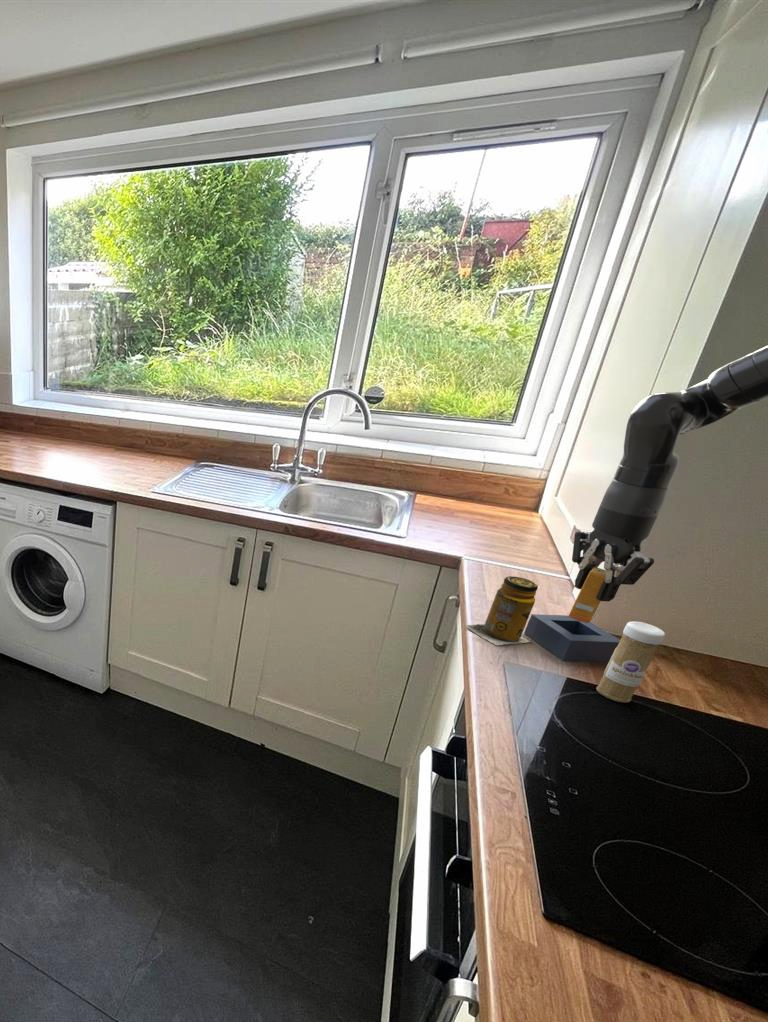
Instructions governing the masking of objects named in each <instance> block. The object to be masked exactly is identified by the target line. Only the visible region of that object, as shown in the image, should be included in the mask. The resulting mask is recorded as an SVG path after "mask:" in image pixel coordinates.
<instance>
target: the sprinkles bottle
mask: <svg viewBox="0 0 768 1022" xmlns="http://www.w3.org/2000/svg"><path fill="white" fill-rule="evenodd" d="M622 632H623V633H622V637H621V638H620V642H619V644H618V646H617V647H616V649H615V651H614V653H613V655H612V657H611V659H610V661H609V663H607V665H606V668H605V669H604V672H603V676H602V677H601V679H600V682H599V684H598V685H597V686H596V691H597V693H599V695H601V696H603V697H605V698H606V699H608V700H611V701H614V702H617V703H624V704H626V703H630V702H631V701H632V699H633V696H634V694H635V692H636V690H637V688H638V687H639V685H640V683H641V682H642V679H643V678H644V676H645V674H646V672H647V670H648V668H649V666H650V664H651V662H652V660H653V657H654V654H655V653H656V651H657V649H658V647H659V646H660V645H661V644H662V643H663V640H664V638H665V636H666V633H665V631H663V630H662V629H661V628H660V627H658V626H655V625H652V624H649V623H646V622H642V621H634V620H633V621H628V622H627V623H626V625H625V627H624V629H623V631H622Z"/></svg>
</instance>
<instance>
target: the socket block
mask: <svg viewBox="0 0 768 1022" xmlns="http://www.w3.org/2000/svg"><path fill="white" fill-rule="evenodd" d="M523 634H524V635H525V636H527V637H528V638H530V639H531V640H532V641H534V642H536V643H537V644H538V645H539V646H541V647H542V648H544V649H545V650H546V651H548V652H549V653H551V654H552V655H553V656H555V657H557V658H558V659H559V660H561V662H580V663H603V664H606V663H607V664H608V663H609V661H610V659H611V657H612V655H613V653H614V651H615V649H616V647H617V646H618V644H619V642H620V640H621V638H620V639H619V638H618V637H616V636H614V635H613V634H611V633H610V632H608V631H606V630H604V629H603V628H601V627H599V626H598V625H596V624H594V623H593V622H592V621H591V622H590V623H589V624H588V623H585V622H581V621H578V620H575V619H572V618H570V617H569V615H563V614H539V613H536V614H535V613H530V616H529V618H528V621H527V623H526V626H525V628H524V631H523Z"/></svg>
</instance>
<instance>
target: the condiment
mask: <svg viewBox="0 0 768 1022" xmlns="http://www.w3.org/2000/svg"><path fill="white" fill-rule="evenodd" d="M538 588H539V586H538V585H537V583H536V582H534V581H532V580H530V579H527V578H524V577H520V576H511V575H510V576H505V578H503V582H502V584H501V585H500V588H498V589H497V590H496V593H495V595H494V599H493V601H492V603H491V606H490V609H489V612H488V615H487V617H486V620H485V622H484V623H477V624H466V625H464V627H465V628H467V629H468V630H470V631H471V632H473V633H475V634H476V635H478V637H481V638H482V639H484V640H486V641H488V642H489V643H491V644H493V645H494V646H503V645H517V644H527V643H532V641H531V640H529V639H528V638H525V637H524V636H522V634H523V633H524V631H525V628H526V626H527V624H528V621H529V619H530V616H531V614H532V613H531V612H532V610H533V608H534V605H535V602H536V597H535V596H536V595H537V590H538Z"/></svg>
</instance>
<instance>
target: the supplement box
mask: <svg viewBox="0 0 768 1022" xmlns="http://www.w3.org/2000/svg"><path fill="white" fill-rule="evenodd" d="M605 575H606V570H605V569H604V568H600V567H597V568H596V567H593V569H592V570H591V571H590V573H589V575H588V576H587V578H586V580H585V582H584V584H583V586H582V588H581V589H579V593H578V594H577V597H576V599H575V601H574V603H573V605H572V607H571V609H570V612H569V614H568V616H569V617H570V618H572V619H575V620H578V621H581V622H585V623H588V624H589V623H590V622H591V623H592V620H593V618H594V616H595V614H596V612H597V610H598V607H599V605H600V603H601V601H599V600H598V599H596V597H597V594H598V592H599V590H600V588H601V585H602V583H603V581H605Z"/></svg>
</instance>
